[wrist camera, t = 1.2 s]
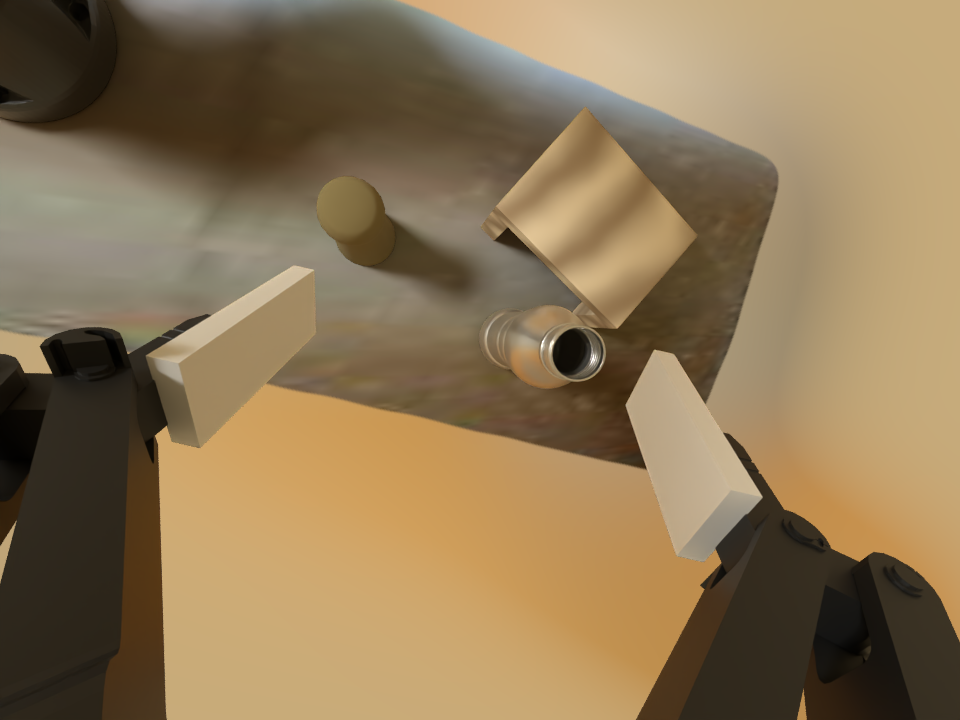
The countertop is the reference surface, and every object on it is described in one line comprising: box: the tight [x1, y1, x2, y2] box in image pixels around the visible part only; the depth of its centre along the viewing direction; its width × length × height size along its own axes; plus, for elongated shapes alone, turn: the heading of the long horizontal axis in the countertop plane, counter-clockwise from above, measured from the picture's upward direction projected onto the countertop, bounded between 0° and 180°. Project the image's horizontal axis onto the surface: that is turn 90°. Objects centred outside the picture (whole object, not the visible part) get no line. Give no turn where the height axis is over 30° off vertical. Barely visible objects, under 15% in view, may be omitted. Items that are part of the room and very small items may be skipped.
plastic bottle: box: [479, 305, 606, 389], centre depth 34 cm, size 6×7×20 cm
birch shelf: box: [481, 107, 698, 329], centre depth 40 cm, size 16×12×8 cm
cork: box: [317, 176, 395, 266], centre depth 35 cm, size 6×6×11 cm
